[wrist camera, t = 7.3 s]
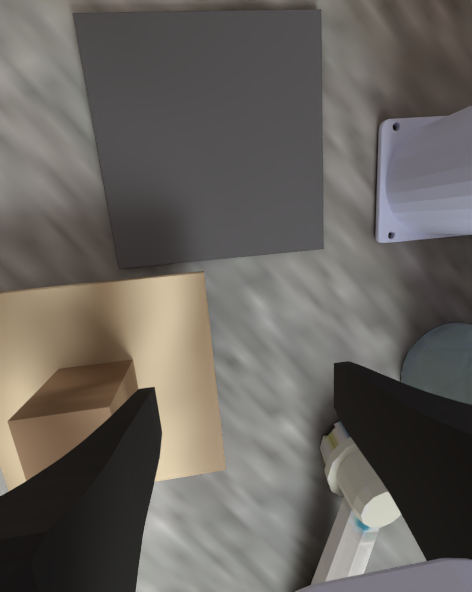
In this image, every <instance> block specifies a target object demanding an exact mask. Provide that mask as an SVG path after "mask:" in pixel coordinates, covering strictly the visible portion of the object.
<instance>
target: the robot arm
mask: <svg viewBox="0 0 472 592" xmlns="http://www.w3.org/2000/svg"><path fill="white" fill-rule="evenodd" d="M393 124H394V125H395V126H396V131H394V130H393ZM390 232H391V237H390V238H388V234H389V233H390ZM463 235H472V105H471V106H469V107H467V108H464V109H462V110H460V111H458V112H455V113H453V114H451V115H449V116H433V117H415V118H396V119H387V120H385V121H383V122H382V123H381V124H380V126H379V140H378V171H377V202H376V233H375V237H376V240H377V242H379V243H390V242H401V241H411V240H421V239H432V238H442V237H452V236H463ZM334 408H335V410H336V412H337V415H338V417H339V419H340V420H341V422H342V424H343V426H344V428H345V430H346V431H347V433H348V434H349V436H350V437H351V438H352V440H353V441H354V443H355V444H356V446H357V447H358V448H359V450H360V451H361V453H362V454H363V456H364V457H365V458H366V460H367V461H368V463H369V464H370V465H371V467H372V468H373V470H374V471H375V472H376V474H377V475H378V477H379V478H380V480H381V481H382V483H383V484H384V486H385V487H386V489H387V490H388V492H389V493H390V495H391V497H392V499H393V500H394V502H395V504H396V506H397V507H398V509H399V511H400V513H401V514H402V516H403V518H404V519H405V521H406V523H407V525H408V527H409V529H410V530H411V532H412V534H413V536H414V538H415V540H416V541H417V543H418V545H419V547H420V549H421V551H422V552H423V554H424V556H425V558H426V560H427V561H425V562H420V563H415V564H410V565H405V566H400V567H395V568H390V569H385V570H380V571H375V572H370V573H365V574H360V575H355V576H350V577H345V578H340V579H335V580H330V581H325V582H320V583H315V584H312V585H309V586H307V587H304V588H302V589H300V590H297V591H295V592H472V405H471V404H467V403H463V402H459V401H455V400H452V399H449V398H445V397H442V396H438V395H435V394H432V393H429V392H426V391H423V390H421V389H418V388H415V387H412V386H410V385H407V384H404V383H402V382H399V381H397V380H394V379H392V378H389V377H387V376H385V375H382V374H380V373H377V372H375V371H373V370H370V369H368V368H365V367H363V366H360V365H358V364H355V363H352V362H349V361H348V362H340V363H334ZM161 440H162V428H161V422H160V416H159V410H158V404H157V398H156V392H155V387H149V388H141V389H138V390H137V391H136V392H135V393H134V394H133V395H132V396H131V397H130V398H129V399H128V400H127V401H126V402H125V403H124V404H123V405H122V406H121V407H120V408H119V409H118V410H116V411H115V412H114V413H113V414H112V415H111V416H110V417H109V418H108V419H107V420H106V421H105V422H104V423H103V424H102V425H101V426H99V427H98V428H97V429H96V430H95V431H94V432H93V433H92V434H90V435H89V436H88V437H87V438H86V439H85V440H83V441H82V442H81V443H80V444H79V445H77V446H76V447H75V448H73V449H72V450H71V451H69V452H68V453H67V454H65V455H64V456H63V457H61V458H60V459H59V460H57V461H56V462H54V463H53V464H51V465H50V466H48V467H47V468H45V469H44V470H42V471H41V472H39V473H38V474H36V475H35V476H33V477H32V478H30V479H29V480H27V481H26V482H24V483H22V484H21V485H19V486H17V487H16V488H14V489H12V490H10V491H9V492H7V493H5V494H4V495H2V496H0V592H135V591H136V583H137V574H138V566H139V559H140V552H141V544H142V537H143V531H144V526H145V521H146V516H147V512H148V507H149V503H150V499H151V494H152V490H153V486H154V481H155V477H156V472H157V468H158V463H159V459H160V450H161Z"/></svg>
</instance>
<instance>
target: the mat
mask: <svg viewBox="0 0 472 592" xmlns="http://www.w3.org/2000/svg"><path fill="white" fill-rule="evenodd" d="M73 17H74V23H75V28H76V34H77V39H78V45H79V50H80V56H81V61H82V67H83V72H84V78H85V83H86V89H87V94H88V100H89V105H90V111H91V117H92V122H93V128H94V133H95V139H96V144H97V150H98V155H99V161H100V166H101V172H102V177H103V183H104V188H105V194H106V199H107V205H108V210H109V216H110V221H111V227H112V232H113V238H114V243H115V249H116V254H117V260H118V266H119V269H121V268H132V267H142V266H152V265H163V264H173V263H183V262H194V261H204V260H214V259H225V258H235V257H245V256H255V255H266V254H276V253H286V252H297V251H307V250H317V249H324V244H323V142H322V40H321V9H314V10H248V11H182V12H117V13H73Z"/></svg>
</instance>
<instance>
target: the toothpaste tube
mask: <svg viewBox="0 0 472 592" xmlns="http://www.w3.org/2000/svg"><path fill="white" fill-rule="evenodd" d="M334 426H335V428H334V429H333V430H332V431H331V433H330V434H329V435H328V436H323V439H322V442H321V445H320V451H321V453H322V456H323V460H324V463H325V465H326V467H325V470H324V471H325V475H326V478H327V481H328V484H329V486H330V489H331V491H332V492H334V493H335V494H337V495H339V496H340V497H342V498H343V501H342V503H341V506H340V509H339V511H338V514H337V517H336V519H335V522H334V525H333V527H332V530H331V532H330V535H329V538H328V540H327V543H326V546H325V548H324V551H323V554H322V556H321V559H320V561H319V564H318V567H317V569H316V572H315V575H314V577H313V580H312V583H311V585H312V584H315V583H320V582H325V581H330V580H335V579H340V578H345V577H350V576H355V575H360V574H364V571H365V568H366V565H367V563H368V560H369V557H370V554H371V551H372V548H373V545H374V542H375V540H376V537H377V534H378V531H379V528H380V527H382V526H385V525H387V524H389V523H392V522H393V521H394V520H395V519H396V518H397V517H399V516H400V515H401V513H400V511H399V509H398V507H397V506H396V504H395V502H394V500H393V499H392V497H391V495H390V493H389V492H388V490H387V489H386V487H385V486H384V484H383V483H382V481H381V480H380V478H379V477H378V475H377V474H376V472H375V471H374V470H373V468H372V467H371V465H370V464H369V463H368V461H367V460H366V458H365V457H364V456H363V454H362V453H361V451H360V450H359V448H358V447H357V446H356V444H355V443H354V441H353V440H352V438H351V437H350V436H349V434H348V433H347V431H346V430H345V428H344V426H343V424H342V422H341V421H339V422H337V423H335V424H334Z"/></svg>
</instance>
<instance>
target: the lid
mask: <svg viewBox="0 0 472 592" xmlns="http://www.w3.org/2000/svg"><path fill="white" fill-rule="evenodd" d="M149 387H155V392H156V398H157V404H158V410H159V416H160V422H161V428H162V440H161V450H160V459H159V463H158V468H157V472H156V477H155V481H154V482H156V481H162V480H168V479H174V478H180V477H186V476H192V475H198V474H204V473H210V472H216V471H222V470H226V466H225V457H224V448H223V439H222V430H221V421H220V412H219V403H218V394H217V385H216V376H215V368H214V359H213V350H212V341H211V332H210V323H209V314H208V305H207V296H206V287H205V278H204V271H199V272H190V273H180V274H170V275H160V276H150V277H140V278H131V279H121V280H111V281H101V282H91V283H81V284H72V285H62V286H52V287H42V288H32V289H22V290H13V291H3V292H0V467H1V470H2V473H3V475H4V478H5V481H6V484H7V487H8V490H9V491H10V490H12V489H14V488H16V487H17V486H19V485H21V484H22V483H24V482H26V481H27V480H29V479H30V478H32V477H33V476H35V475H36V474H38V473H39V472H41V471H42V470H44V469H45V468H47V467H48V466H50V465H51V464H53V463H54V462H56V461H57V460H59V459H60V458H61V457H63V456H64V455H65V454H67V453H68V452H69V451H71V450H72V449H73V448H75V447H76V446H77V445H79V444H80V443H81V442H82V441H83V440H85V439H86V438H87V437H88V436H89V435H90V434H92V433H93V432H94V431H95V430H96V429H97V428H98V427H99V426H101V425H102V424H103V423H104V422H105V421H106V420H107V419H108V418H109V417H110V416H111V415H112V414H113V413H114V412H115V411H116V410H118V409H119V408H120V407H121V406H122V405H123V404H124V403H125V402H126V401H127V400H128V399H129V398H130V397H131V396H132V395H133V394H134V393H135V392H136V391H137V390H138V389H141V388H149Z"/></svg>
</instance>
